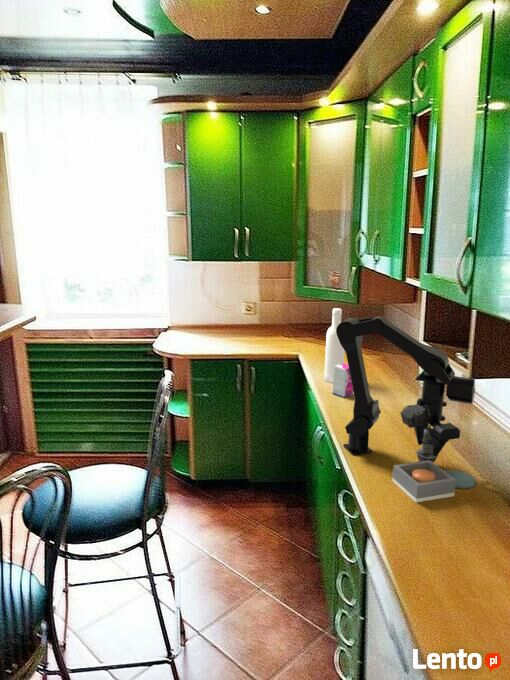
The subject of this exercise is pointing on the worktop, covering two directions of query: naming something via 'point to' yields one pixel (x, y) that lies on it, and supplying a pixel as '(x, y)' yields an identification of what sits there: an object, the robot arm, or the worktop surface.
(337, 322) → the bottle
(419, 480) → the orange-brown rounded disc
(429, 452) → the salt shaker
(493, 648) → the worktop surface
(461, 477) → the slate coaster
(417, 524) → the worktop surface
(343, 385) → the supplement box
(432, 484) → the grey square tray
